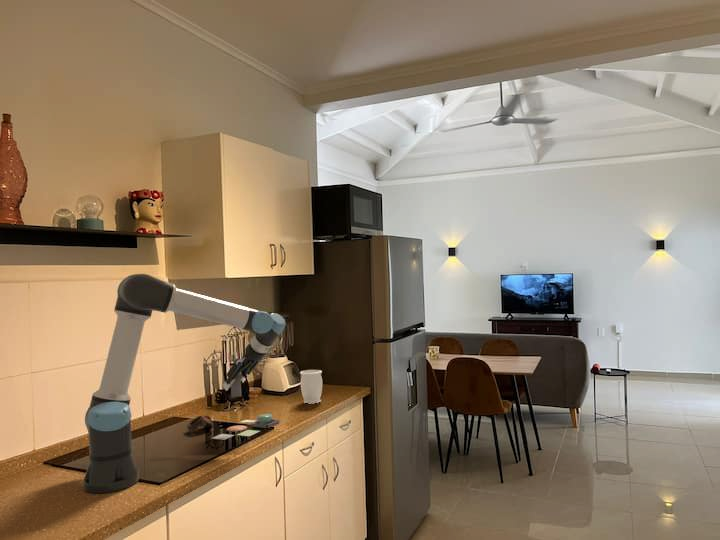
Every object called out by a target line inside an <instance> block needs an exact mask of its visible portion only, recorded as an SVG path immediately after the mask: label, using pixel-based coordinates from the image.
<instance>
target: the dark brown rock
mask: <svg viewBox="0 0 720 540" xmlns="http://www.w3.org/2000/svg"><path fill="white" fill-rule="evenodd" d="M199 427H202V428H204V429H210V430H209V432H211V433H212V432H213V431H215V428H214V425H213V423H212V420H211V417H210V416H209V415H201V414H200V415H198V416H196V417H195V418H194V419H192V420H191V421H190V422H189V423H188V424H187V425H186V428H187V432H188V434H191V433H194V432H199Z"/></svg>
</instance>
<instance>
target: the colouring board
mask: <svg viewBox="0 0 720 540" xmlns="http://www.w3.org/2000/svg"><path fill="white" fill-rule="evenodd" d="M272 419H273V421H272V422H268V423H258V421H257V420H254V419H253V420H251V419H244V420H242V421H240V423H250V427H252V428H259V429H260V428H263V429H269V428H272V427H274V426H276V425H278V424H280V419H276V418H272ZM247 428H248V427H247V426H246V425H232V426H229V427H227V428H226V431H227V432H239V433H238V434H236V436H243V437H251V436H253V435H255V434H257V433H260V432H261V430H254V429H253V430H252V429H247ZM240 431H241V432H240ZM234 436H235V434H228V433H221V434H218V435H216V436H213V437H211V439H214V440H223V441H225V440H227V439H230V438H233V437H234Z"/></svg>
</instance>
